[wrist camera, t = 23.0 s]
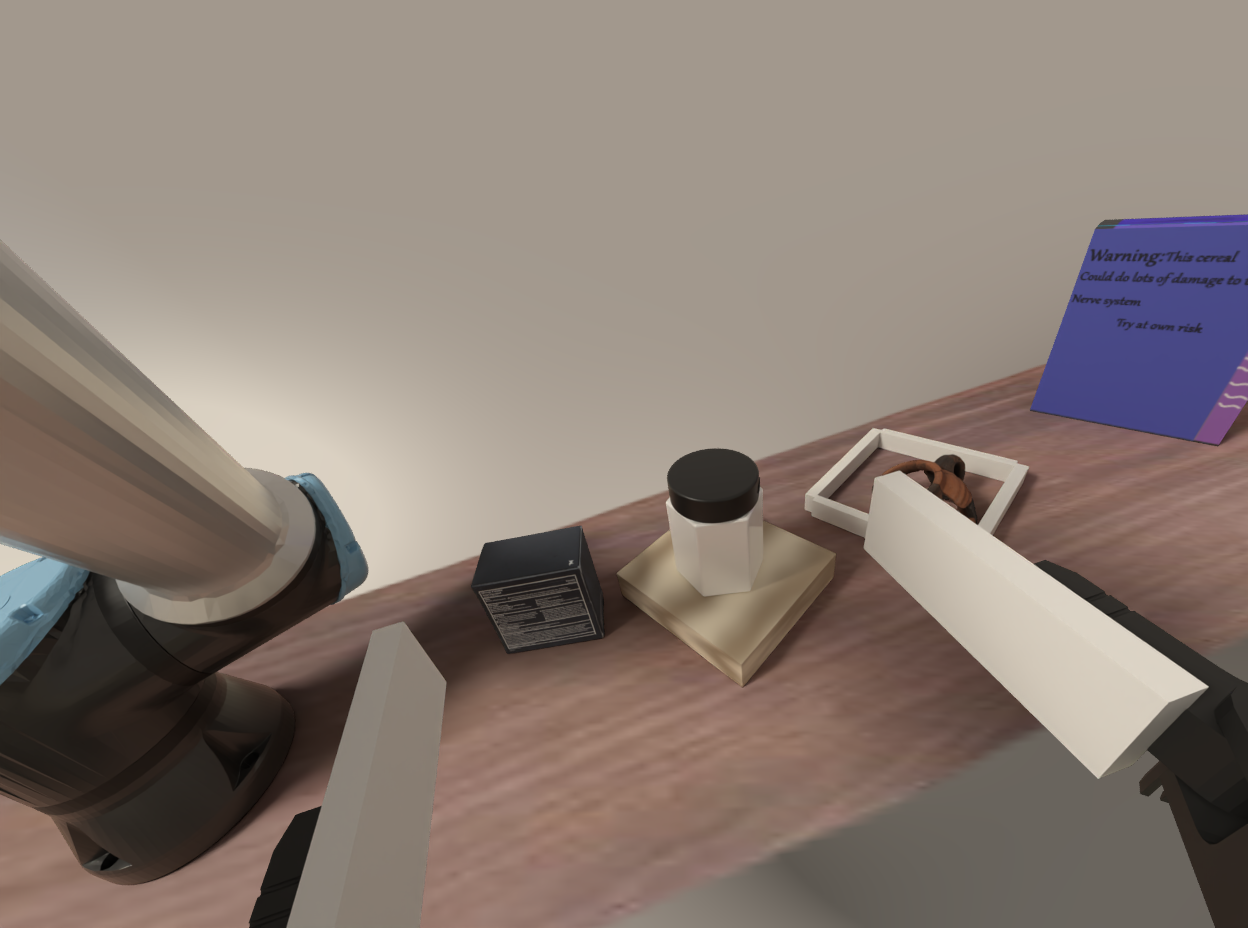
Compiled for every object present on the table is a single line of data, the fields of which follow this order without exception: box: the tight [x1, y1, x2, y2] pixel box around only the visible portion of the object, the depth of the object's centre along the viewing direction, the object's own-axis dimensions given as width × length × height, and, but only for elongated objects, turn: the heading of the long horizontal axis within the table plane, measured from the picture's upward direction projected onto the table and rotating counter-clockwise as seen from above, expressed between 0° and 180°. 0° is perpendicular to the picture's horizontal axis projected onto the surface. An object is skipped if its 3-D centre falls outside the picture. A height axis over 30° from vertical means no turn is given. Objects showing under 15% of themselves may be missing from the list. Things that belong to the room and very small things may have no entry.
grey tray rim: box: [805, 428, 1029, 538], centre depth 54 cm, size 17×19×2 cm
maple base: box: [616, 521, 836, 687], centre depth 48 cm, size 16×16×4 cm
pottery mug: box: [872, 454, 977, 524], centre depth 51 cm, size 12×10×8 cm
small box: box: [471, 526, 605, 654], centre depth 46 cm, size 11×6×10 cm, turn 94°
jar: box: [666, 449, 763, 597], centre depth 43 cm, size 9×8×12 cm
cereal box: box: [1030, 215, 1248, 446], centre depth 53 cm, size 17×5×24 cm, turn 41°
